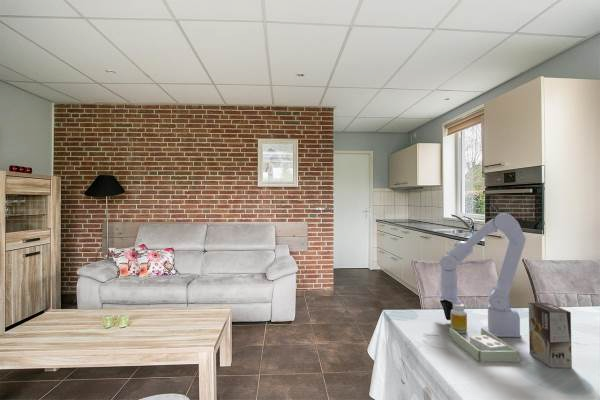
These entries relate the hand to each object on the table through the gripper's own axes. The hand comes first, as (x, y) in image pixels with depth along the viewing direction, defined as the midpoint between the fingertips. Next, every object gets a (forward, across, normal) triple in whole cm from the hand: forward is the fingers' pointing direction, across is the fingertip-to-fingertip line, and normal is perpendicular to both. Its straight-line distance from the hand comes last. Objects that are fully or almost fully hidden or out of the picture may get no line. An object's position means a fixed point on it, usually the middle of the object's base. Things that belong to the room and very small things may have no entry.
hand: (449, 319), depth 122 cm
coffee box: (+2, +29, +16) cm, 33 cm away
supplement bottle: (+2, +7, 0) cm, 7 cm away
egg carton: (+2, +25, 0) cm, 25 cm away
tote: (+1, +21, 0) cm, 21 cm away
